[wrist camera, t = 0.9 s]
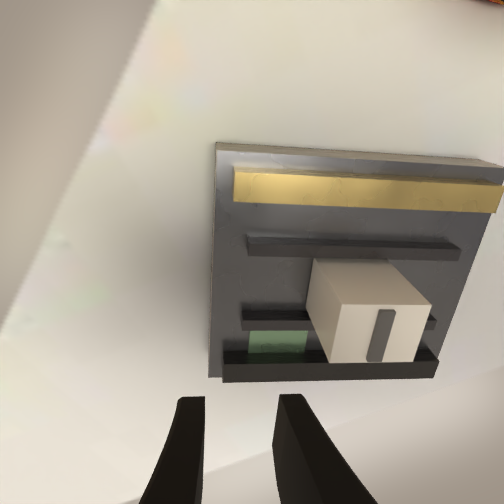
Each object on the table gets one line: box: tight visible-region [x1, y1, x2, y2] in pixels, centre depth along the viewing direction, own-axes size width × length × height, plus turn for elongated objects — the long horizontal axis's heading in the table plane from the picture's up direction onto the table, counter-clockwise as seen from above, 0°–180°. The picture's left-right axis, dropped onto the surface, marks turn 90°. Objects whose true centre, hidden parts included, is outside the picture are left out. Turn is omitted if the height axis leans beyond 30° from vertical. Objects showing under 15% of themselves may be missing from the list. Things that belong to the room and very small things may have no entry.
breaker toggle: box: [306, 258, 432, 363], centre depth 16 cm, size 4×3×4 cm
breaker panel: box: [208, 142, 504, 383], centre depth 19 cm, size 13×12×3 cm
